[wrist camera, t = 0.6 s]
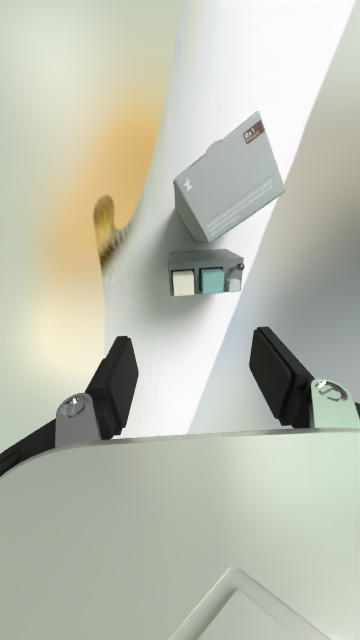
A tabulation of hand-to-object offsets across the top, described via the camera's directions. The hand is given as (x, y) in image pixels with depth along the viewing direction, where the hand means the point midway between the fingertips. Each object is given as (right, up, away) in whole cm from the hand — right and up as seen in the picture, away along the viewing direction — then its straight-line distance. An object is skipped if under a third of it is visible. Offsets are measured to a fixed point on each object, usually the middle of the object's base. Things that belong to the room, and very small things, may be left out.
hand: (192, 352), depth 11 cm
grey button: (+7, +7, +14) cm, 17 cm away
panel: (+3, +12, +23) cm, 26 cm away
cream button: (0, +8, +15) cm, 17 cm away
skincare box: (+3, +21, +19) cm, 28 cm away
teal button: (+3, +8, +15) cm, 17 cm away
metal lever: (+6, +9, +13) cm, 17 cm away
